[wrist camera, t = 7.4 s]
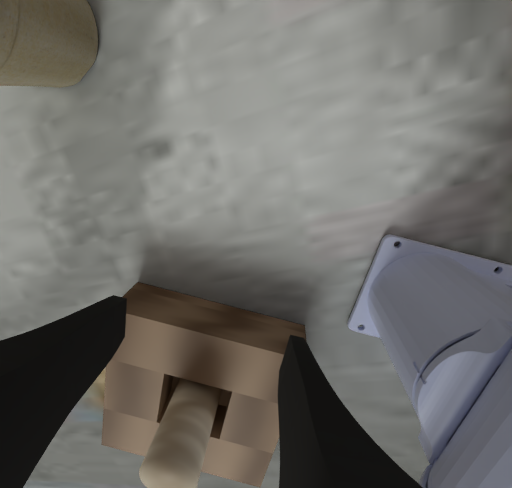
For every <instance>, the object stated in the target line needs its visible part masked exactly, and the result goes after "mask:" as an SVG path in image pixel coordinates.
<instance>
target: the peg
mask: <svg viewBox="0 0 512 488" xmlns="http://www.w3.org/2000/svg"><path fill="white" fill-rule="evenodd" d="M221 391H222V389H220V388H217V387H213V386H209V385H205V384H202V383H198V382H194V381H190V380H186V379H183V378H180V380H179V382H178V384H177V387H176V389H175V391H174V393H173V396H172V398H171V400H170V402H169V404H168V407H167V409H166V411H165V413H164V416H163V418H162V420H161V422H160V425H159V427H158V429H157V431H156V434H155V436H154V438H153V440H152V443H151V445H150V447H149V449H148V452H147V454H146V456H145V458H144V460H143V463H142V465H141V467H140V470H139V476H140V479H141V481H142V482H143V484H144V485H145V486H146V487H147V488H196V487H197V484H198V480H199V476H200V472H201V468H202V465H203V461H204V457H205V453H206V449H207V445H208V441H209V438H210V434H211V430H212V426H213V422H214V418H215V414H216V411H217V407H218V403H219V399H220V395H221Z"/></svg>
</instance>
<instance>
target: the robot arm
mask: <svg viewBox="0 0 512 488" xmlns="http://www.w3.org/2000/svg"><path fill="white" fill-rule="evenodd" d="M397 241H400V244H399V245H398V246H394V243H395V242H397ZM497 267H499V268H498V270H497V271H494V270H495V268H497ZM126 309H127V298H123V297H118V296H114V295H113V296H111V297H108V298H106V299H104V300H101V301H99V302H97V303H95V304H93V305H91V306H88V307H86V308H84V309H82V310H80V311H77V312H75V313H73V314H71V315H69V316H66V317H64V318H61V319H59V320H57V321H54V322H52V323H49V324H47V325H44V326H42V327H39V328H37V329H34V330H31V331H29V332H26V333H23V334H20V335H17V336H14V337H11V338H8V339H5V340H1V341H0V488H23V486H24V485H25V483H26V481H27V480H28V478H29V476H30V475H31V473H32V471H33V470H34V468H35V466H36V465H37V463H38V461H39V460H40V458H41V457H42V455H43V453H44V452H45V450H46V449H47V447H48V445H49V444H50V442H51V441H52V439H53V437H54V436H55V434H56V433H57V431H58V430H59V428H60V427H61V425H62V424H63V422H64V421H65V419H66V418H67V416H68V415H69V413H70V412H71V410H72V409H73V408H74V406H75V405H76V404H77V402H78V401H79V400H80V399H81V397H82V396H83V395H84V394H85V392H86V391H87V390H88V388H89V387H90V386H91V385H92V383H93V382H94V381H95V380H96V378H97V377H98V376H99V374H100V373H101V372H102V371H103V369H104V368H105V367H106V365H107V364H108V363H109V362H110V360H111V359H112V358H113V356H114V354H115V353H116V351H117V350H118V348H119V346H120V344H121V343H122V341H123V339H124V338H125V328H126ZM347 324H348V327H349V329H350V330H352V331H356V332H359V333H363V334H367V335H371V336H375V337H379V338H381V340H382V342H383V344H384V346H385V348H386V350H387V352H388V354H389V357H390V359H391V361H392V363H393V365H394V367H395V369H396V371H397V373H398V376H399V378H400V380H401V382H402V384H403V386H404V388H405V390H406V392H407V395H408V397H409V399H410V401H411V403H412V405H413V407H414V409H415V411H416V414H417V416H418V418H419V420H420V423H421V432H420V434H419V437H418V438H419V441H420V443H421V445H422V448H423V450H424V452H425V454H426V457H427V459H428V461H429V463H430V465H429V466H427V467H426V469H425V471H424V472H423V474H422V476H421V478H420V481H419V484H418V483H417V482H416V481H415V480H414V479H413V478H411V477H410V476H409V475H408V474H407V473H406V472H405V471H403V470H402V469H401V468H400V467H399V466H398V465H397V464H396V463H395V462H394V461H393V460H392V459H391V458H390V457H389V456H388V455H387V454H386V453H385V452H384V451H383V450H382V449H381V448H380V447H379V446H378V445H377V444H376V443H375V442H374V441H373V439H372V438H371V437H370V436H369V435H368V434H367V433H366V432H365V430H364V429H363V428H362V427H361V426H360V425H359V424H358V422H357V421H356V420H355V419H354V417H353V416H352V415H351V414H350V412H349V411H348V410H347V408H346V407H345V406H344V405H343V403H342V402H341V400H340V399H339V398H338V396H337V395H336V393H335V392H334V390H333V389H332V387H331V385H330V384H329V382H328V381H327V379H326V377H325V376H324V374H323V372H322V370H321V369H320V367H319V365H318V363H317V361H316V360H315V358H314V356H313V354H312V352H311V350H310V348H309V346H308V344H307V342H306V340H305V339H304V338H303V337H298V336H294V335H290V337H289V340H288V343H287V347H286V350H285V353H284V357H283V360H282V363H281V366H280V370H279V379H278V417H279V437H280V481H279V488H512V265H509V264H505V263H501V262H497V261H493V260H489V259H485V258H482V257H478V256H474V255H470V254H466V253H462V252H458V251H454V250H450V249H446V248H442V247H438V246H434V245H430V244H426V243H422V242H419V241H415V240H411V239H407V238H403V237H399V236H395V235H386V236H384V237H383V239H382V241H381V243H380V246H379V248H378V250H377V253H376V255H375V258H374V260H373V262H372V265H371V267H370V270H369V272H368V274H367V277H366V279H365V282H364V284H363V286H362V289H361V291H360V294H359V296H358V298H357V301H356V303H355V306H354V308H353V310H352V313H351V315H350V318H349V320H348V323H347ZM359 325H363V327H358V326H359Z"/></svg>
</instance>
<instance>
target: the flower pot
mask: <svg viewBox="0 0 512 488" xmlns="http://www.w3.org/2000/svg"><path fill="white" fill-rule="evenodd" d="M97 49H98V33H97V26H96V22H95V18H94V15H93V12H92V10H91V7H90V5H89V3H88V2H87V0H0V86H43V87H58V88H61V87H68V86H72V85H74V84H76V83H78V82H79V81H80V80H81V79H82V77H83V76H84V75H85V74H86V73H87V71H88V70H89V69H90V68H91V66H92V65H93V64H94V62H95V59H96V55H97Z"/></svg>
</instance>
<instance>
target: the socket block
mask: <svg viewBox="0 0 512 488" xmlns="http://www.w3.org/2000/svg"><path fill="white" fill-rule="evenodd" d="M123 298H127V309H126V328H125V338H124V339H123V341H122V343H121V344H120V346H119V348H118V350H117V351H116V353H115V354H114V356H113V358H112V359H111V360H110V362H109V363H108V364H107V365H106V378H105V395H104V412H103V429H102V445H104V446H108V447H112V448H116V449H119V450H123V451H127V452H130V453H134V454H138V455H142V456H146V454H147V452H148V449H149V447H150V445H151V443H152V440H153V438H154V436H155V434H156V431H157V429H158V427H159V425H160V422H161V420H162V418H163V416H164V413H165V411H166V409H167V407H168V404H169V402H170V400H171V398H172V396H173V393H174V391H175V389H176V387H177V384H178V382H179V380H180V378H183V379H186V380H190V381H194V382H198V383H202V384H205V385H209V386H213V387H217V388H220V389H222V391H221V395H220V399H219V403H218V407H217V411H216V414H215V418H214V422H213V426H212V430H211V434H210V438H209V441H208V445H207V449H206V453H205V457H204V461H203V465H202V468H201V472H205V473H208V474H212V475H216V476H220V477H223V478H227V479H231V480H235V481H238V482H242V483H246V484H249V485H253V486H257V487H260V486H261V484H262V481H263V478H264V476H265V473H266V471H267V468H268V465H269V463H270V460H271V457H272V455H273V452H274V450H275V447H276V444H277V442H278V439H279V417H278V379H279V370H280V366H281V363H282V360H283V357H284V353H285V350H286V347H287V343H288V340H289V337H290V335H294V336H298V337H303V338H304V339H305V340H306V334H305V325H301V324H297V323H293V322H289V321H285V320H282V319H278V318H274V317H270V316H266V315H262V314H259V313H255V312H251V311H247V310H243V309H239V308H235V307H232V306H228V305H224V304H220V303H216V302H212V301H209V300H205V299H201V298H197V297H193V296H189V295H185V294H182V293H178V292H174V291H170V290H166V289H162V288H158V287H155V286H151V285H147V284H143V283H139V282H137V283H136V284H135V285H134V286H133V287H132V288H131V289H130V290H129V291H128V292H127V293H126V294H125V295H124V296H123Z"/></svg>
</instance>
